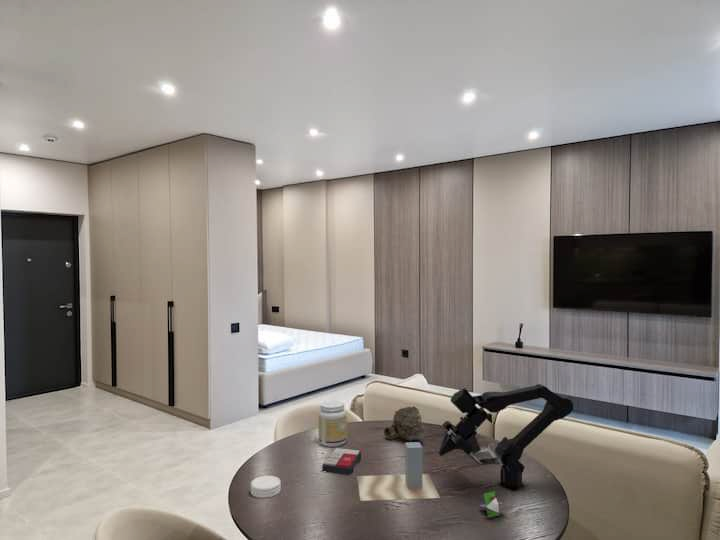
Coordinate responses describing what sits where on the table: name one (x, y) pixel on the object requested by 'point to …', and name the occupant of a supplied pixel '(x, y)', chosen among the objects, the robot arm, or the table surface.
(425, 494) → the board
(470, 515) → the table surface
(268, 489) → the white puck
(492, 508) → the geometric puzzle
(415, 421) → the rock
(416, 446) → the pillar
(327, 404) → the supplement tub
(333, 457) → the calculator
